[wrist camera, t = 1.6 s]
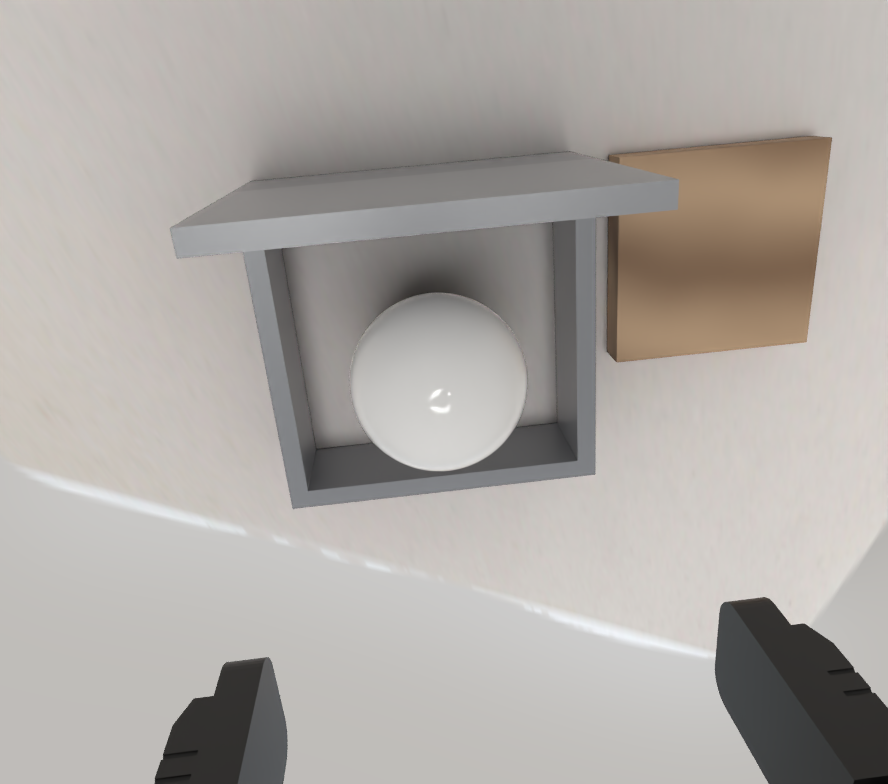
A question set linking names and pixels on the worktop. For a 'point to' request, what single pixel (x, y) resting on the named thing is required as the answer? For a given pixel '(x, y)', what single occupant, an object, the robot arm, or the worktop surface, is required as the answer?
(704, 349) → the stand
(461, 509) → the worktop surface
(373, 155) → the worktop surface
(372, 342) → the lightbulb
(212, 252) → the case
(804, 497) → the worktop surface
